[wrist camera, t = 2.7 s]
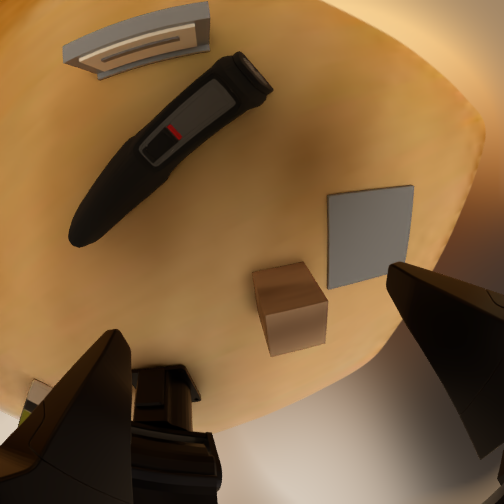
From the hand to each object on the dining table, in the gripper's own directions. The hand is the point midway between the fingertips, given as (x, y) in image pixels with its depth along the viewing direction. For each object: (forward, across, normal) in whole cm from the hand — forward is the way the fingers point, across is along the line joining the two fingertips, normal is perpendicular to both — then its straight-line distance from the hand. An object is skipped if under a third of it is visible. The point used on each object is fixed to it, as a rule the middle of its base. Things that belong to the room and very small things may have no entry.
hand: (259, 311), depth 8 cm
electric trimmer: (+11, +3, -5) cm, 13 cm away
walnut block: (+11, -3, +8) cm, 14 cm away
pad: (+11, -11, +5) cm, 16 cm away
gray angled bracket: (+11, +3, -11) cm, 16 cm away
